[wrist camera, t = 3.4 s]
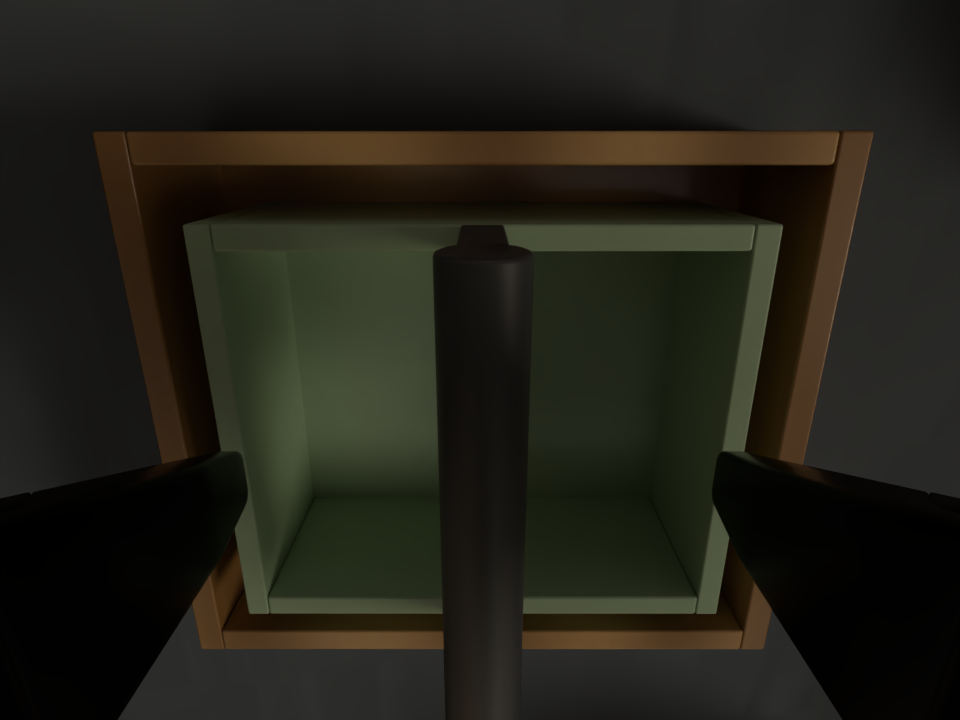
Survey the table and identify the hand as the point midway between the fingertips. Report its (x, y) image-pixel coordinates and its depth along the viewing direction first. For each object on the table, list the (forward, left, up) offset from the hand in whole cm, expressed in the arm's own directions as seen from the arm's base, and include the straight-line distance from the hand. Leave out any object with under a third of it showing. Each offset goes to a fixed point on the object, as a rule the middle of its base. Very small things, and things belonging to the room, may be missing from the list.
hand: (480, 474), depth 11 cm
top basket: (0, 0, -6) cm, 6 cm away
